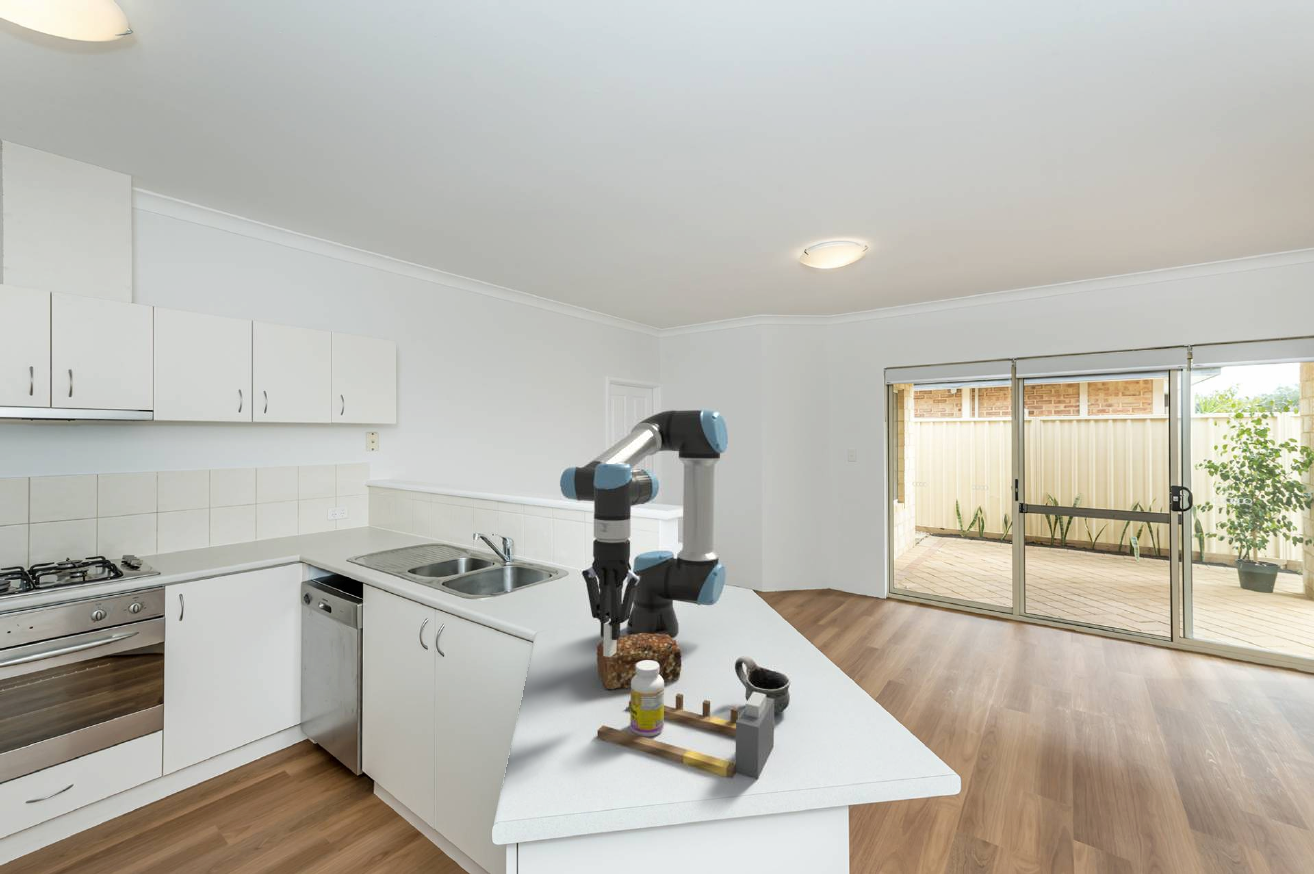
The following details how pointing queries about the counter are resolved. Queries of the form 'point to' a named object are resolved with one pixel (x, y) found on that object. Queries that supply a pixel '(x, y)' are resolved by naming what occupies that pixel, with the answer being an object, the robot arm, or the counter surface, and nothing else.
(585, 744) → the counter surface
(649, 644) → the bread
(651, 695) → the supplement bottle
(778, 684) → the mug
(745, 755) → the grey carton
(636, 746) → the wooden rack
